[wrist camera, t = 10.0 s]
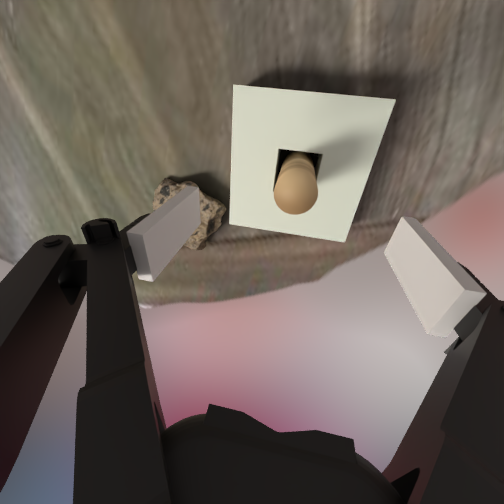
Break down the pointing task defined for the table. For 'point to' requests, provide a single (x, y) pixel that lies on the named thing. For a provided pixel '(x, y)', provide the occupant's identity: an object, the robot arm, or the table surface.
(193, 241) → the rock
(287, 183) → the dowel
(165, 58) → the table surface
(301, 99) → the socket block
